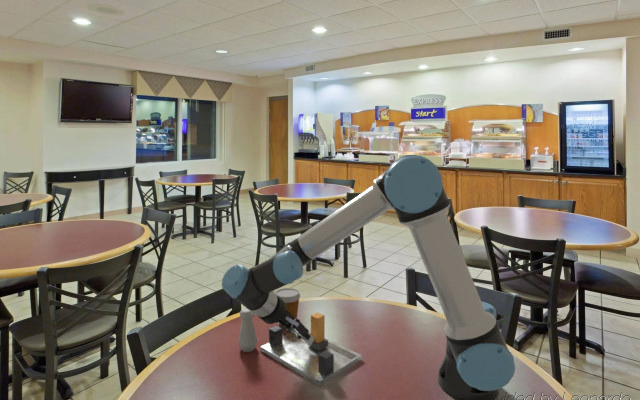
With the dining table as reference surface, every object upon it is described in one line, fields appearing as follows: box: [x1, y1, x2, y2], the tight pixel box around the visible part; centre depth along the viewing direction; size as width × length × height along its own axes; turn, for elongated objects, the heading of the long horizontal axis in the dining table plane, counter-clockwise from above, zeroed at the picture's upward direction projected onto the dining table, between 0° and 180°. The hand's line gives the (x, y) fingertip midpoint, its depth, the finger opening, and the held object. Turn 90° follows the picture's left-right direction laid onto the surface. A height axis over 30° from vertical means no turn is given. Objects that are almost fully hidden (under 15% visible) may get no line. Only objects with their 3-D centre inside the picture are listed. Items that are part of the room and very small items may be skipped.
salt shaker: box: [238, 307, 258, 353], centre depth 120 cm, size 6×6×13 cm
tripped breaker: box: [309, 312, 329, 351], centre depth 119 cm, size 5×4×10 cm
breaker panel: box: [260, 325, 363, 387], centre depth 117 cm, size 26×18×6 cm
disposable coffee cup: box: [274, 287, 301, 329], centre depth 137 cm, size 10×10×12 cm
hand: (311, 341), depth 117 cm, fingers closed
